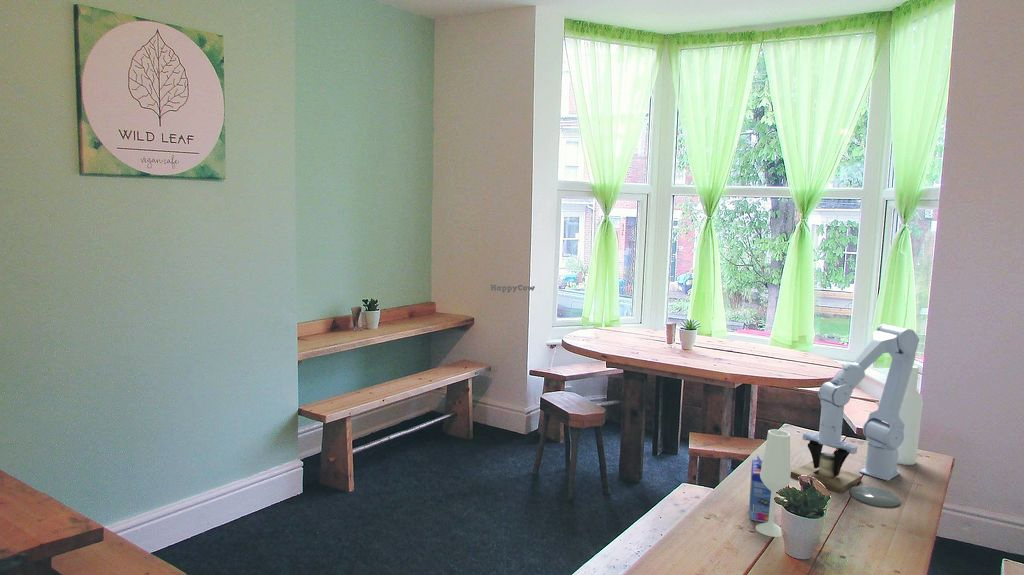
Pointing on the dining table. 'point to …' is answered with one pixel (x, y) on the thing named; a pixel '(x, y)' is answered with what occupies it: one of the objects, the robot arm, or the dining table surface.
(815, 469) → the socket block
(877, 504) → the disc
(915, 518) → the dining table surface
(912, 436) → the bottle
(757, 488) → the ink cartridge box
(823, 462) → the small jar
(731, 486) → the dining table surface
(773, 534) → the champagne flute
